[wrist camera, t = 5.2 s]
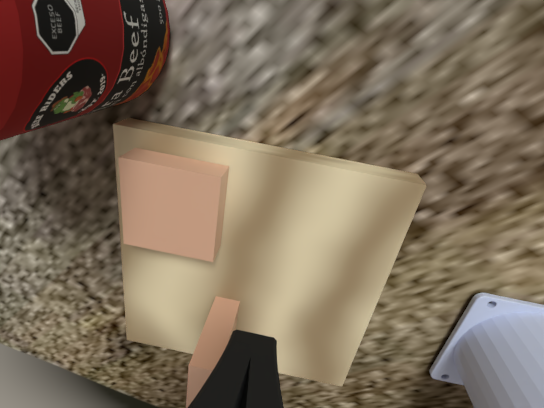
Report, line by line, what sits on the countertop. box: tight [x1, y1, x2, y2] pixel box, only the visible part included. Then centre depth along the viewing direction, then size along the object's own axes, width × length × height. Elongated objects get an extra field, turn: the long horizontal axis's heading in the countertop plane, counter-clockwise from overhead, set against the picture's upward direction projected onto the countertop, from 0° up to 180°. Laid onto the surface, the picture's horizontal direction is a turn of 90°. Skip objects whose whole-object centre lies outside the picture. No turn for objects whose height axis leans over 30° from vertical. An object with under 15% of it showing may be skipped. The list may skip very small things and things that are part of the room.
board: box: [113, 118, 427, 386], centre depth 20 cm, size 16×16×2 cm
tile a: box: [119, 148, 229, 262], centre depth 17 cm, size 2×5×5 cm
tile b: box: [186, 296, 240, 408], centre depth 19 cm, size 2×5×5 cm, turn 170°
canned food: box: [0, 0, 170, 140], centre depth 11 cm, size 8×8×11 cm
